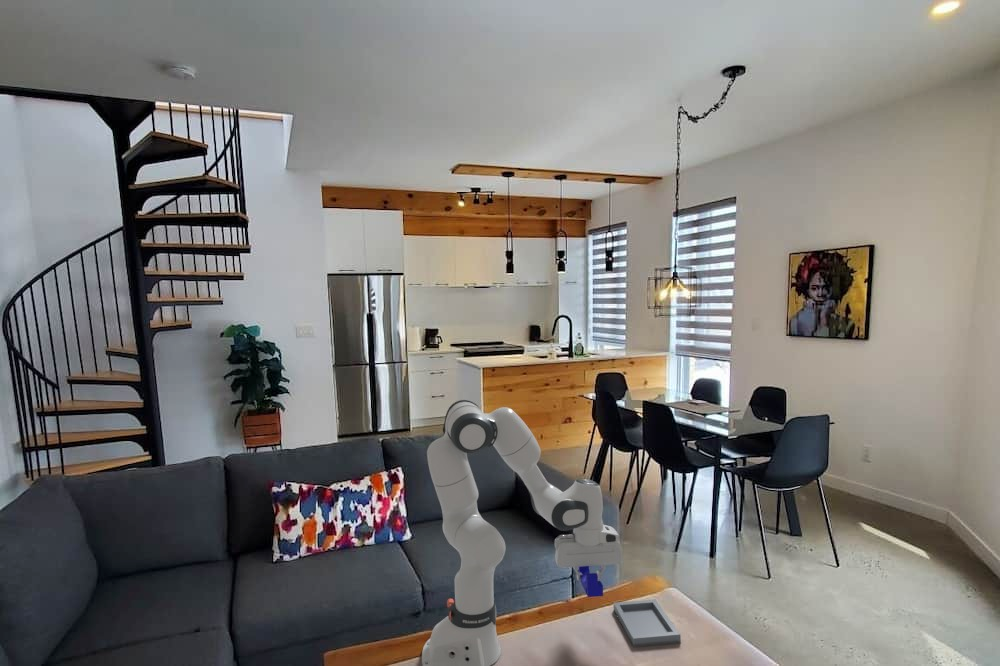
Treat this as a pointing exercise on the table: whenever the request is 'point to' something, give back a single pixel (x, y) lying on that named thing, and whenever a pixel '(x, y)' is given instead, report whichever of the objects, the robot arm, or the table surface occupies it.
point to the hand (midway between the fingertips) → (589, 578)
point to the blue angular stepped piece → (590, 582)
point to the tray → (646, 623)
